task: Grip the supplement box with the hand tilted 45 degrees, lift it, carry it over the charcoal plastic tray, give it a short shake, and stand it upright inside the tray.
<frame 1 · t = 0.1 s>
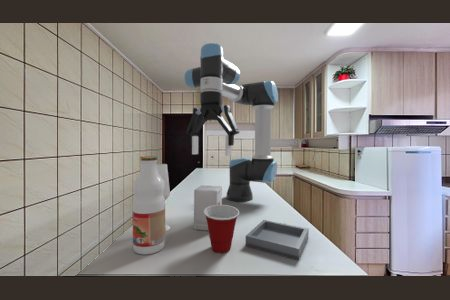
hand: (211, 155, 73), 28 cm above the counter, tool pointing down, fingers open, 13 cm apart
plastic cup: (221, 249, 65), on the counter
champagne flute: (160, 228, 80), on the counter
fruit juice: (149, 248, 66), on the counter
supplement box: (208, 226, 82), on the counter
tray: (278, 241, 70), on the counter
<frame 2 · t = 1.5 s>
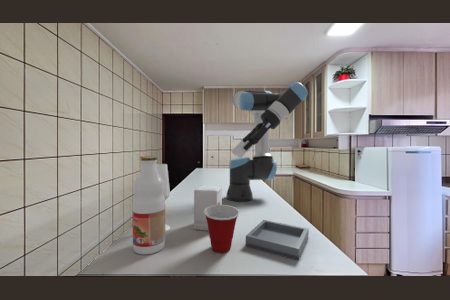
hand: (235, 154, 82), 28 cm above the counter, tool tilted 45°, fingers open, 13 cm apart
nothing on the counter moved.
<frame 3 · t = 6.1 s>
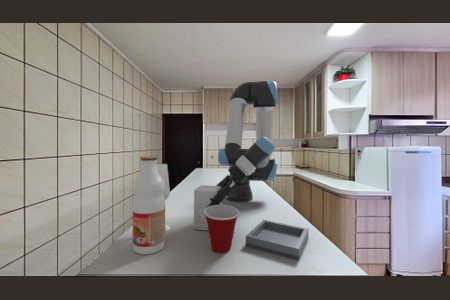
hand: (200, 210, 82), 6 cm above the counter, tool tilted 45°, fingers closed on supplement box, 10 cm apart
supplement box: (208, 226, 82), on the counter, touching gripper
everything else where it was.
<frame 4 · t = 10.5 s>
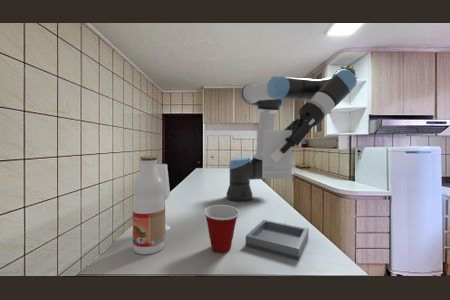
hand: (267, 158, 69), 27 cm above the counter, tool tilted 45°, fingers closed on supplement box, 10 cm apart
supplement box: (276, 177, 69), point 21 cm above the counter, touching gripper
everything else where it was.
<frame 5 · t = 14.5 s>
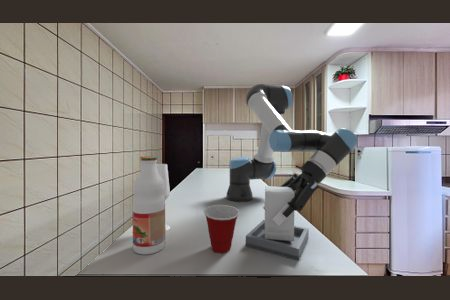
hand: (269, 216, 69), 9 cm above the counter, tool tilted 45°, fingers closed on supplement box, 10 cm apart
supplement box: (278, 235, 69), point 2 cm above the counter, touching gripper
everything else where it was.
when the fingers open (8 cm above the counter, at t = 15.0 s): supplement box drops 1 cm, resting on tray.
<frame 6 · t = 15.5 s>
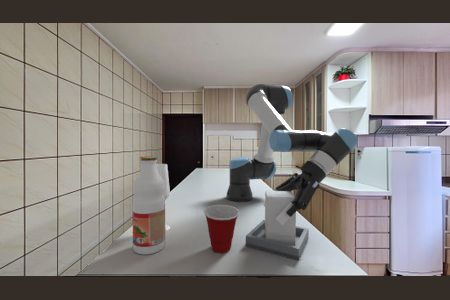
hand: (271, 214, 69), 9 cm above the counter, tool tilted 45°, fingers open, 13 cm apart
supplement box: (279, 239, 69), point 1 cm above the counter, touching tray
everything else where it was.
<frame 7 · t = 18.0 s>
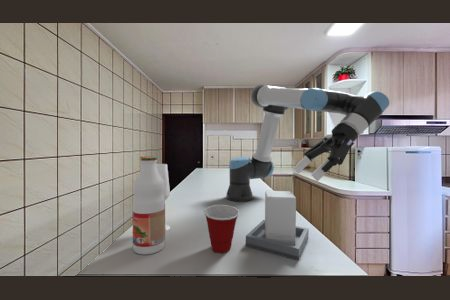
hand: (304, 174, 71), 22 cm above the counter, tool tilted 45°, fingers open, 13 cm apart
nothing on the counter moved.
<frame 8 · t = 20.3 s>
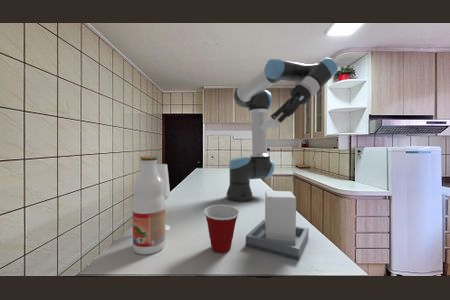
hand: (266, 128, 84), 38 cm above the counter, tool tilted 45°, fingers open, 13 cm apart
nothing on the counter moved.
at the end: supplement box inside the target area on the tray (0.5 cm from its centre), point 0.8 cm above the tray's base; supplement box tilted 0°; the gripper is holding nothing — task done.
